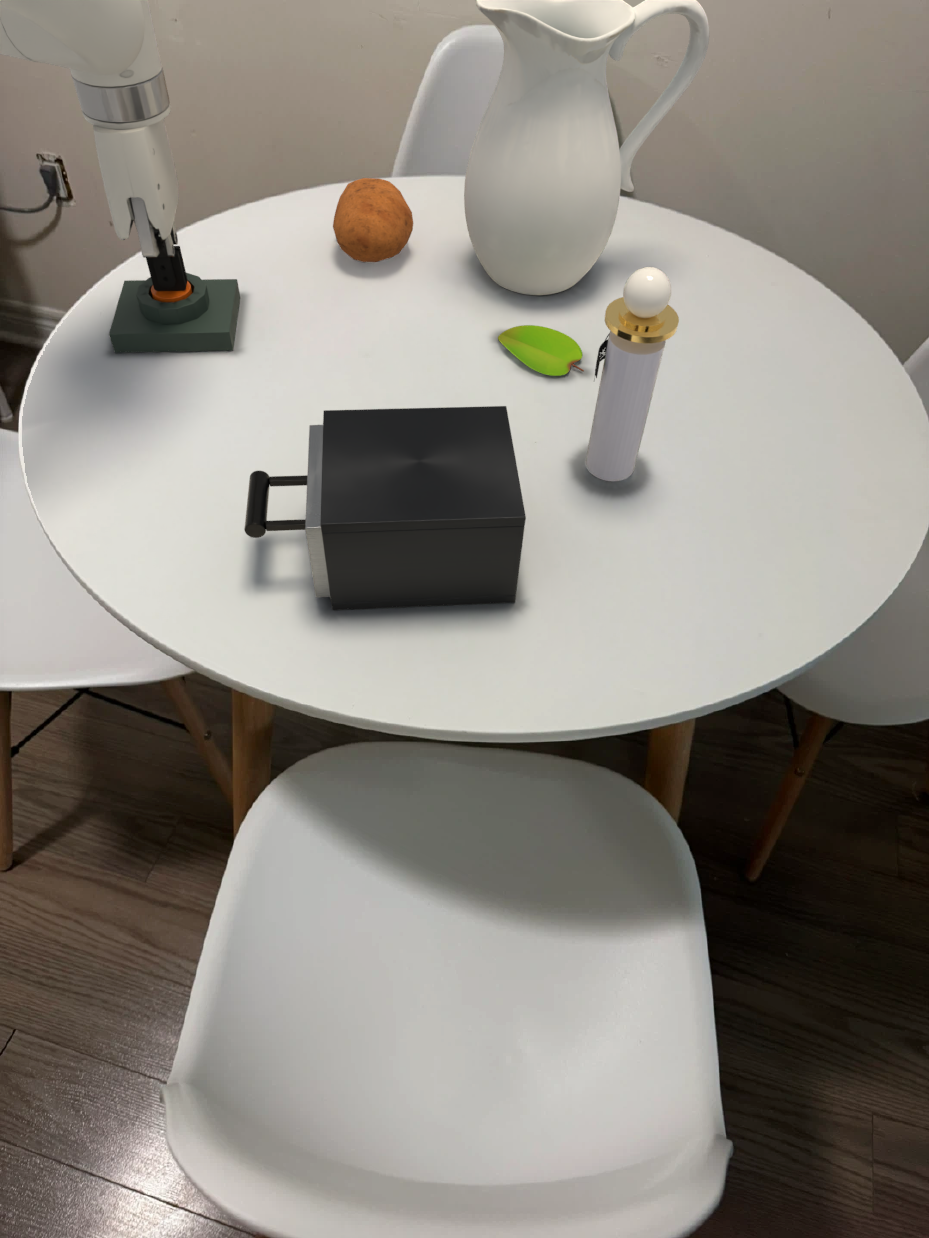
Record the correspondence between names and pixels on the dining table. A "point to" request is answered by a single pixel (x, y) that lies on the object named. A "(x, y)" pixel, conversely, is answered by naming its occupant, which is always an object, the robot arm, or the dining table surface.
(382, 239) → the potato
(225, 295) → the control block
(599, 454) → the perfume bottle
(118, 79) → the robot arm
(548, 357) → the decorative leaf
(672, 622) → the dining table surface
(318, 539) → the drawer
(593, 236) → the pitcher
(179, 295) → the button
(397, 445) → the cabinet
